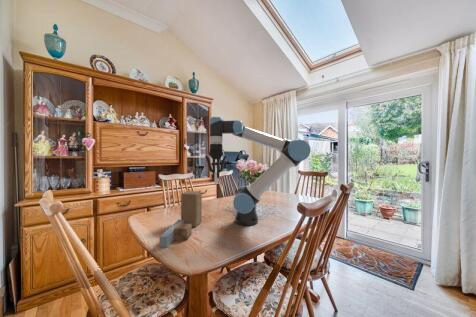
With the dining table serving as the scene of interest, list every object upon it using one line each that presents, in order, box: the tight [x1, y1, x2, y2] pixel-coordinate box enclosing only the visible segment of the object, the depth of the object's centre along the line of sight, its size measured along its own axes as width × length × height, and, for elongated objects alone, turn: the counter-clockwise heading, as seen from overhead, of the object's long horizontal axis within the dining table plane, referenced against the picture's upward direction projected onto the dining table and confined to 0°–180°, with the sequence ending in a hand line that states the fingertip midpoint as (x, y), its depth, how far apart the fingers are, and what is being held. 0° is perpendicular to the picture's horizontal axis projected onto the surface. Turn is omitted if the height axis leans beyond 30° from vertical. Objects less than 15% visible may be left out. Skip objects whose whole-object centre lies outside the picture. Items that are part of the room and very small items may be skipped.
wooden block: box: [180, 190, 203, 228], centre depth 125 cm, size 10×10×20 cm
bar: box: [159, 219, 184, 248], centre depth 106 cm, size 4×24×5 cm, turn 176°
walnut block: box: [173, 224, 193, 241], centre depth 106 cm, size 7×7×6 cm
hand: (215, 183), depth 119 cm, fingers closed
